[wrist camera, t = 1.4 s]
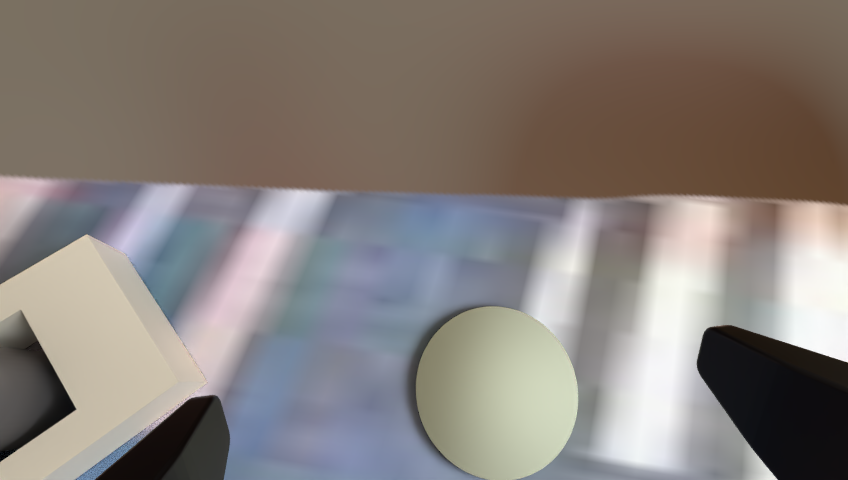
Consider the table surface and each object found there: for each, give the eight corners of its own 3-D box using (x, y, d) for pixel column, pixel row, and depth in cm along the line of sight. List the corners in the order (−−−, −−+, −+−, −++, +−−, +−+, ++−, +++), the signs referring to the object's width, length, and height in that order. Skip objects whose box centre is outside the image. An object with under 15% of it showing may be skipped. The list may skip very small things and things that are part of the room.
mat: (528, 516, 20) (531, 518, 19) (383, 414, 21) (383, 414, 20) (600, 363, 22) (604, 363, 22) (468, 278, 23) (470, 277, 23)
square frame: (207, 382, 20) (178, 381, 17) (-67, 582, 17) (-156, 620, 14) (125, 254, 22) (86, 234, 19) (-139, 414, 19) (-232, 419, 16)
